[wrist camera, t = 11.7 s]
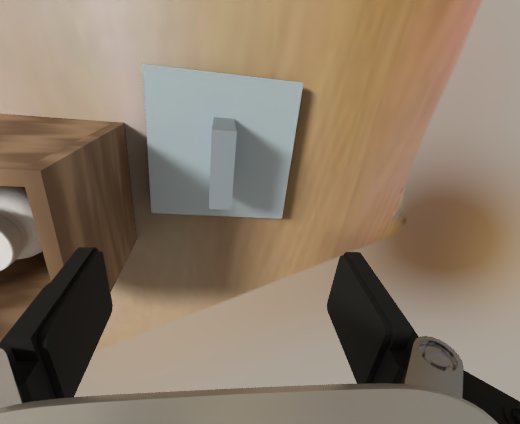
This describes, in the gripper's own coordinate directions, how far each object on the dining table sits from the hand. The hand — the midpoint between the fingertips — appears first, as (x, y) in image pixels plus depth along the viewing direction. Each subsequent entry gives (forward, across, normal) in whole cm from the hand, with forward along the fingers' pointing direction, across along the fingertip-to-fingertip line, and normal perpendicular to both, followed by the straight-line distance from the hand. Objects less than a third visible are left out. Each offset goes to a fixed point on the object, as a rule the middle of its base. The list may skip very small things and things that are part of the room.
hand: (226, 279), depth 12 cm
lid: (+23, 0, +1) cm, 23 cm away
